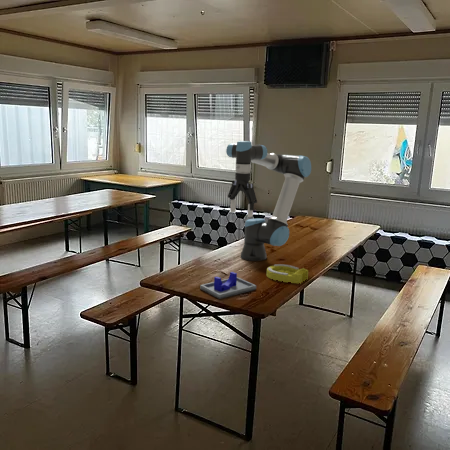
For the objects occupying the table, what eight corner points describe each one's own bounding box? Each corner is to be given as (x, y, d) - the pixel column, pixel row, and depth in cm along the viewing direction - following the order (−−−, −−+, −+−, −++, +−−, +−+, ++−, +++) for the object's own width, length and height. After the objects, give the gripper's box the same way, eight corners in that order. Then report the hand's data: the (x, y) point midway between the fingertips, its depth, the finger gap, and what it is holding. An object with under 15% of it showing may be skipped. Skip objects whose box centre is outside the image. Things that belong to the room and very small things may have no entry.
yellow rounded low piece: (297, 286, 223) (297, 276, 222) (260, 277, 235) (261, 268, 234) (311, 277, 237) (311, 268, 235) (276, 269, 248) (276, 260, 247)
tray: (236, 280, 228) (236, 276, 227) (256, 289, 216) (256, 285, 216) (200, 289, 215) (200, 285, 214) (219, 299, 203) (219, 294, 203)
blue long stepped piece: (220, 292, 209) (221, 279, 208) (214, 289, 213) (214, 277, 211) (238, 286, 218) (239, 274, 217) (231, 283, 221) (232, 271, 220)
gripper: (221, 170, 234) (220, 210, 239) (253, 175, 215) (251, 219, 220) (233, 169, 239) (231, 209, 243) (265, 174, 220) (263, 217, 224)
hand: (241, 214), depth 232 cm, fingers open, 13 cm apart
